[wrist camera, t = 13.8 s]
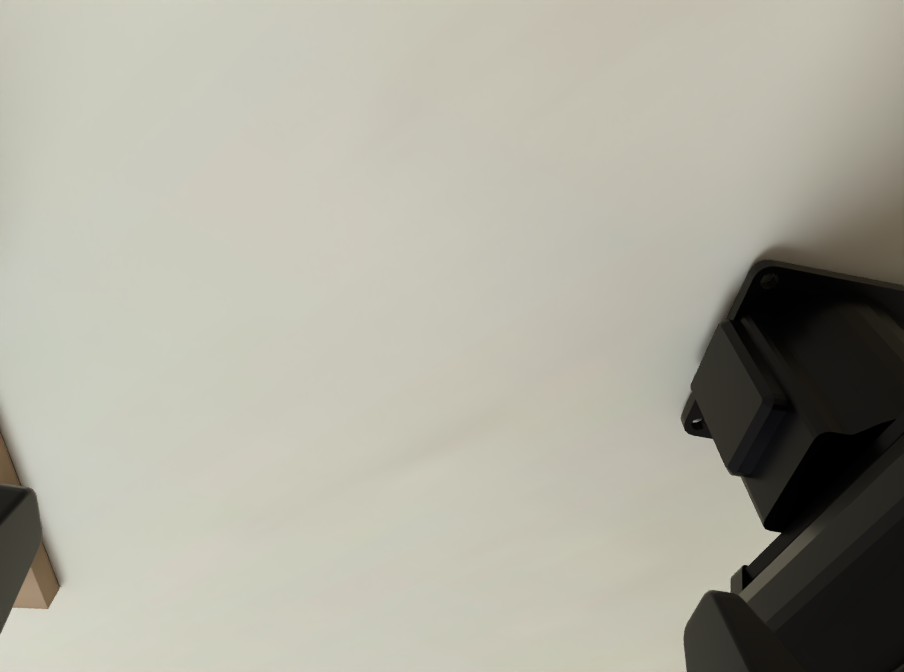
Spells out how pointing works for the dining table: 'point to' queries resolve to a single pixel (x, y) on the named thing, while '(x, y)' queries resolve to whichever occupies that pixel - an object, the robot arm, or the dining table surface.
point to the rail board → (40, 576)
